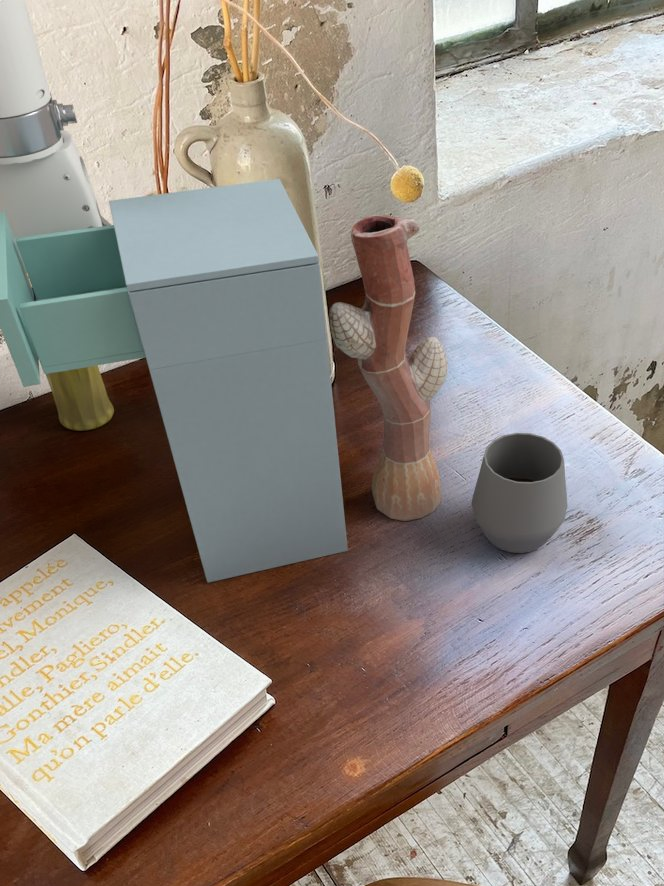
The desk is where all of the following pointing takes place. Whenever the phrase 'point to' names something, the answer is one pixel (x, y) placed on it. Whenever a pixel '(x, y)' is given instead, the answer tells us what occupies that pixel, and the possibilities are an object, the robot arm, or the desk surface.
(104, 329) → the mint cabinet drawer
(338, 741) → the desk surface
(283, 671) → the desk surface
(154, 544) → the desk surface
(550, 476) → the cup
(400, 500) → the vase
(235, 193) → the tall blue pedestal box
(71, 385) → the vase
